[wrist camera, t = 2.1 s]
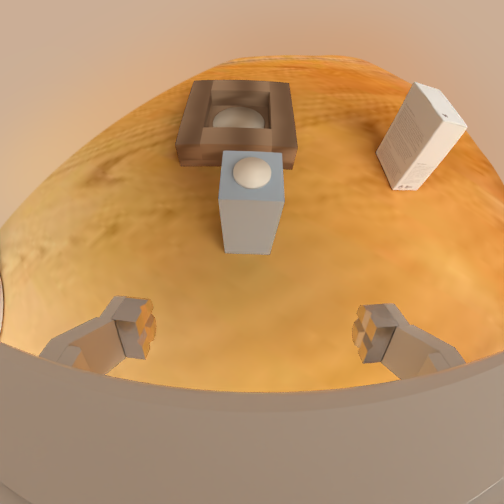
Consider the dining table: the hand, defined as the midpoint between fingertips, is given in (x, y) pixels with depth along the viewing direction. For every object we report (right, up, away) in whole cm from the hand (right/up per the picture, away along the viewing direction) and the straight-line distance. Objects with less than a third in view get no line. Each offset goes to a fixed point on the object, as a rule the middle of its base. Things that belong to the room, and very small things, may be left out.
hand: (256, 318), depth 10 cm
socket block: (-2, +17, +20) cm, 27 cm away
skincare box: (+18, +13, +20) cm, 29 cm away
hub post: (-1, +4, +15) cm, 16 cm away
